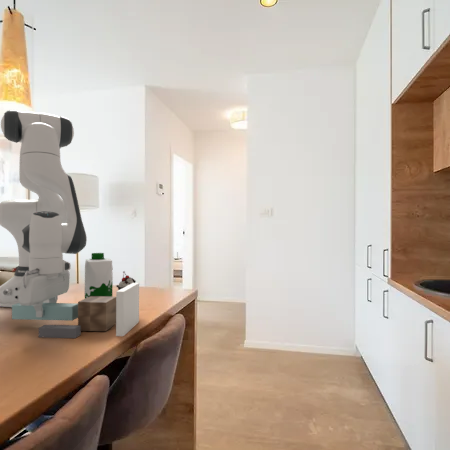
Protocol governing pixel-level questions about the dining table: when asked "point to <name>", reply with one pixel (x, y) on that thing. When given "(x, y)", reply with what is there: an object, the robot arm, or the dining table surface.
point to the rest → (60, 331)
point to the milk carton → (98, 276)
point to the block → (97, 313)
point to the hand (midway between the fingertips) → (45, 314)
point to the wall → (127, 308)
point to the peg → (47, 311)
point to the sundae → (125, 282)
